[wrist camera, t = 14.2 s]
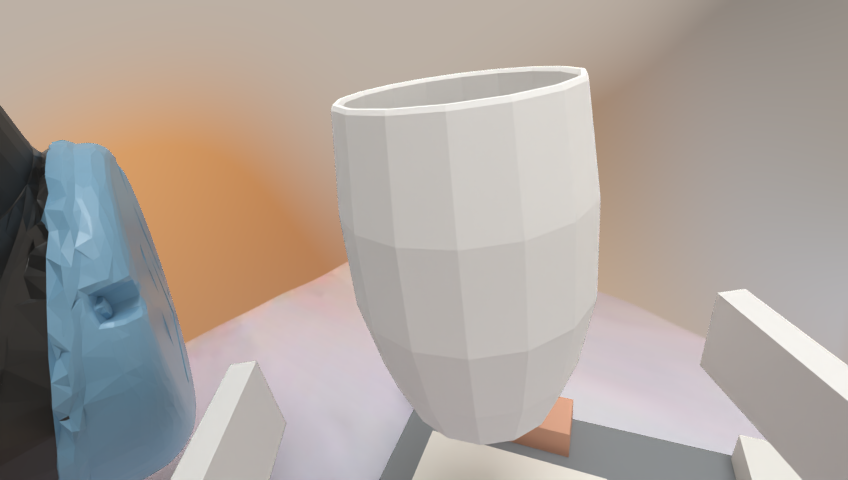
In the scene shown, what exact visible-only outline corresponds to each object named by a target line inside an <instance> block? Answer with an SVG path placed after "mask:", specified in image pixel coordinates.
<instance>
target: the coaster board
mask: <svg viewBox="0 0 848 480" xmlns="http://www.w3.org/2000/svg"><path fill="white" fill-rule="evenodd" d="M572 416H573V400H572V399H568V398H563V397H559V398H558V399H557V401H556V403H555V404H554V406H553V407H552V409H551V410H550V412H549V414H548V415H547V417H546V418H545V420H544V421H543V423H542V424H541V425H540V426H538V427H536V428H534V429H533V430H531V431H529V432H528V433H526V434H524V435H523V436H521V437H519V438H517V439H516V440H513V441H506V442H499V443H492V444H485V445H477V444H473V443H468V442H464V441H459V440H455V439H450V438H447V437H446V436H444V435H443V434H441V433H440V432H438V431H437V430H435V429H434V428H432V427H431V426H429V425H428V424H426V423H425V422H423V420H422V419H421V418H420V416H419V415H418V414H417V412H416V411H415V410H413V412H412V414H411V416H410V418H409V420H408V422H407V424H406V427H405V429H404V431H403V433H402V435H401V437H400V439H399V441H398V443H397V445H396V447H395V449H394V451H393V453H392V455H391V457H390V459H389V461H388V463H387V465H386V467H385V469H384V471H383V473H382V476H381V478H380V480H802V479H801V478H800V477H799V475H798V474H797V473H796V472H795V471H794V470H793V469H792V468H791V467H790V465H789V464H788V463H787V462H786V461H785V460H784V459H783V458H782V456H781V455H780V454H779V453H778V452H777V451H776V450H775V449H774V447H773V446H772V445H771V444H770V443H769V442H768V441H766V440H761V439H757V438H752V437H747V436H742V435H739V437H738V440H737V443H736V446H735V449H734V451H733V454H732V456H730V455H726V454H722V453H717V452H713V451H709V450H704V449H700V448H696V447H691V446H687V445H683V444H678V443H674V442H670V441H665V440H661V439H657V438H652V437H648V436H644V435H639V434H635V433H631V432H626V431H622V430H618V429H613V428H609V427H605V426H600V425H596V424H592V423H587V422H583V421H579V420H574V419H572Z"/></svg>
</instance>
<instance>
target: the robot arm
mask: <svg viewBox="0 0 848 480" xmlns="http://www.w3.org/2000/svg"><path fill="white" fill-rule="evenodd" d="M700 366H701V367H702V368H703V369H704V370H705V371H706V372H707V374H708V375H709V376H710V377H711V378H712V379H713V380H714V381H715V382H716V384H717V385H718V386H719V387H720V388H721V389H722V390H723V391H724V393H725V394H726V395H727V396H728V397H729V398H730V399H731V400H732V402H733V403H734V404H735V405H736V406H737V407H738V408H739V409H740V410H741V412H742V413H743V414H744V415H745V416H746V417H747V418H748V419H749V421H750V422H751V423H752V424H753V425H754V426H755V427H756V428H757V430H758V431H759V432H760V433H761V434H762V435H763V436H764V437H765V439H766V440H767V441H768V442H769V443H770V444H771V445H772V446H773V447H774V449H775V450H776V451H777V452H778V453H779V454H780V455H781V456H782V458H783V459H784V460H785V461H786V462H787V463H788V464H789V465H790V467H791V468H792V469H793V470H794V471H795V472H796V473H797V474H798V475H799V477H800V478H801V479H802V480H848V365H846V364H845V363H843V362H842V361H841V360H839V359H838V358H837V357H836V356H834V355H833V354H832V353H830V352H829V351H828V350H826V349H825V348H823V347H822V346H821V345H819V344H818V343H817V342H816V341H814V340H813V339H812V338H810V337H809V336H808V335H806V334H805V333H803V332H802V331H801V330H800V329H798V328H797V327H795V326H794V325H793V324H792V323H790V322H789V321H788V320H786V319H785V318H784V317H782V316H781V315H779V314H778V313H777V312H776V311H774V310H773V309H771V308H770V307H769V306H767V305H766V304H765V303H763V302H762V301H761V300H759V299H758V298H757V297H755V296H754V295H753V294H751V293H750V292H749V291H747V290H746V289H741V290H734V291H728V292H720V293H717V297H716V300H715V305H714V309H713V313H712V317H711V321H710V325H709V329H708V334H707V338H706V342H705V346H704V350H703V354H702V358H701V363H700ZM195 417H196V398H195V390H194V384H193V379H192V374H191V369H190V364H189V359H188V355H187V351H186V347H185V343H184V340H183V336H182V332H181V328H180V324H179V321H178V318H177V314H176V311H175V307H174V304H173V300H172V297H171V294H170V291H169V287H168V284H167V281H166V278H165V275H164V272H163V269H162V266H161V263H160V260H159V257H158V254H157V251H156V248H155V246H154V243H153V240H152V237H151V234H150V231H149V229H148V226H147V224H146V221H145V218H144V216H143V213H142V211H141V208H140V206H139V203H138V201H137V199H136V196H135V194H134V192H133V189H132V187H131V185H130V183H129V181H128V179H127V177H126V175H125V173H124V172H123V170H122V169H121V168H120V167H119V166H118V164H117V162H116V159H115V157H114V156H113V155H112V153H111V152H110V151H109V150H107V149H106V148H105V147H103V146H101V145H98V144H94V143H81V144H75V143H72V142H69V141H65V140H60V141H56V142H52V144H51V145H49V149H47V150H45V151H44V152H42V153H41V152H39V151H38V150H36V149H35V148H33V147H32V146H31V145H30V143H29V142H28V141H27V140H26V139H25V137H24V136H23V135H22V134H21V132H20V131H19V130H18V128H17V127H16V126H15V124H14V123H13V122H12V120H11V119H10V118H9V116H8V115H7V114H6V112H5V111H4V110H3V108H2V107H1V106H0V480H143V479H145V478H147V477H149V476H150V475H152V474H154V473H155V472H157V471H159V470H160V469H162V468H163V467H165V466H166V465H168V464H169V463H170V462H171V461H172V460H173V459H174V458H175V457H176V456H177V455H178V454H179V453H180V452H181V450H182V449H183V448H184V446H185V445H186V443H187V441H188V439H189V437H190V435H191V433H192V430H193V427H194V423H195ZM285 426H286V422H285V420H284V418H283V416H282V414H281V411H280V409H279V407H278V405H277V403H276V401H275V399H274V397H273V394H272V392H271V390H270V388H269V386H268V384H267V382H266V380H265V377H264V375H263V373H262V371H261V369H260V367H259V365H258V363H257V361H250V362H244V363H237V364H231V365H230V367H229V368H228V370H227V372H226V374H225V376H224V378H223V380H222V382H221V384H220V386H219V388H218V389H217V391H216V393H215V395H214V397H213V399H212V401H211V403H210V405H209V407H208V409H207V410H206V412H205V414H204V416H203V418H202V420H201V422H200V424H199V426H198V428H197V430H196V431H195V433H194V435H193V437H192V439H191V441H190V443H189V445H188V447H187V449H186V451H185V452H184V454H183V456H182V458H181V460H180V462H179V464H178V466H177V468H176V470H175V472H174V473H173V475H172V477H171V479H170V480H269V479H270V476H271V473H272V469H273V466H274V463H275V459H276V456H277V453H278V449H279V446H280V443H281V439H282V436H283V433H284V430H285Z"/></svg>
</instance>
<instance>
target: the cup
mask: <svg viewBox="0 0 848 480" xmlns="http://www.w3.org/2000/svg"><path fill="white" fill-rule="evenodd" d="M331 116H332V128H333V141H334V154H335V167H336V180H337V193H338V205H339V217H340V222H341V227H342V232H343V237H344V242H345V247H346V252H347V257H348V261H349V266H350V271H351V276H352V281H353V286H354V291H355V296H356V301H357V305H358V307H359V309H360V312H361V314H362V316H363V318H364V320H365V322H366V325H367V327H368V329H369V331H370V333H371V335H372V338H373V340H374V342H375V344H376V346H377V349H378V351H379V353H380V355H381V357H382V359H383V362H384V364H385V365H386V367H387V369H388V370H389V372H390V374H391V376H392V377H393V379H394V381H395V383H396V384H397V386H398V388H399V389H400V391H401V392H402V393H403V395H404V396H405V397H406V399H407V400H408V402H409V403H410V404H411V406H412V407H413V408H414V410H415V411H416V412H417V414H418V415H419V416H420V418H421V419H422V420H423V422H425V423H426V424H428V425H429V426H431V427H432V428H434V429H435V430H437V431H438V432H440V433H441V434H443V435H444V436H446V437H447V438H450V439H455V440H459V441H464V442H468V443H473V444H477V445H485V444H492V443H499V442H506V441H513V440H516V439H517V438H519V437H521V436H523V435H524V434H526V433H528V432H529V431H531V430H533V429H534V428H536V427H538V426H540V425H541V424H542V423H543V421H544V420H545V418H546V417H547V415H548V414H549V412H550V410H551V409H552V407H553V406H554V404H555V403H556V401H557V399H558V398H559V396H560V394H561V392H562V390H563V389H564V387H565V385H566V383H567V381H568V380H569V378H570V376H571V374H572V372H573V371H574V369H575V367H576V365H577V363H578V360H579V357H580V354H581V350H582V347H583V344H584V340H585V337H586V333H587V330H588V327H589V323H590V320H591V317H592V313H593V310H594V306H595V303H596V300H597V280H598V253H599V226H600V190H599V178H598V169H597V158H596V147H595V138H594V128H593V116H592V106H591V96H590V85H589V77H588V73H587V71H586V69H585V68H577V67H570V66H532V67H518V68H502V69H492V70H483V71H475V72H465V73H457V74H450V75H443V76H437V77H429V78H423V79H418V80H412V81H407V82H401V83H396V84H390V85H386V86H382V87H377V88H373V89H369V90H364V91H361V92H357V93H354V94H351V95H348V96H346V97H343V98H340V99H338V100H337V101H336V102H335V103H334V104H333V105H332V109H331Z"/></svg>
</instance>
